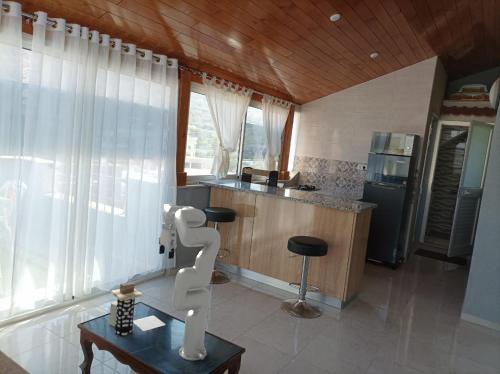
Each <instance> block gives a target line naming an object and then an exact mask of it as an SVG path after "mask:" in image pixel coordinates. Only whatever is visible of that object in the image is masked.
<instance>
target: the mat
mask: <svg viewBox="0 0 500 374" xmlns="http://www.w3.org/2000/svg"><path fill="white" fill-rule="evenodd" d="M133 325H135V326H137V327H138V328H139V329H140V330H141V331H142V332H145V331H149V330H152V329H157V328H158V327H163V326H166V323H165V322H163V321H162V320H160V319H159V318H158V317H157V316H155V315H150V316H145V317H142V318H141V317H140V318H139V319H133Z"/></svg>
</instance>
